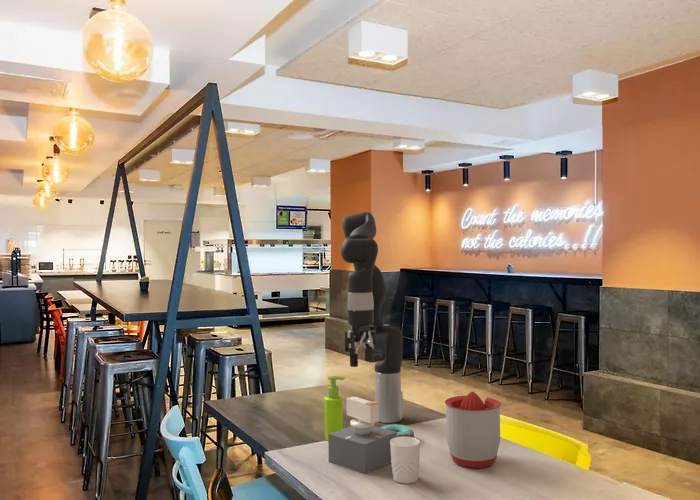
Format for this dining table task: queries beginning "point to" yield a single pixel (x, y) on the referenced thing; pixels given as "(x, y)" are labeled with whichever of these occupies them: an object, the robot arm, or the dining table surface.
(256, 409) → the dining table surface
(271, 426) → the dining table surface
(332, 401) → the soap dispenser
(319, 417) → the dining table surface
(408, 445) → the white cup
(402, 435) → the donut
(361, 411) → the wing knob
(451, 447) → the citrus juicer
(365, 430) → the box
